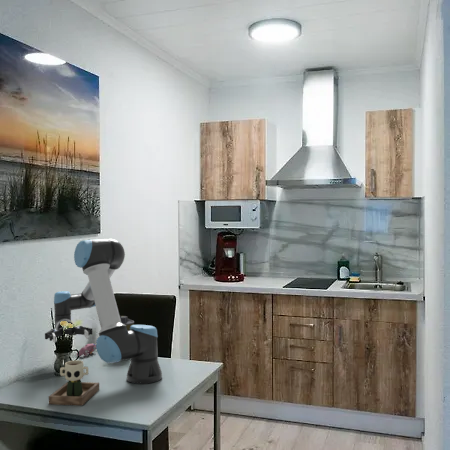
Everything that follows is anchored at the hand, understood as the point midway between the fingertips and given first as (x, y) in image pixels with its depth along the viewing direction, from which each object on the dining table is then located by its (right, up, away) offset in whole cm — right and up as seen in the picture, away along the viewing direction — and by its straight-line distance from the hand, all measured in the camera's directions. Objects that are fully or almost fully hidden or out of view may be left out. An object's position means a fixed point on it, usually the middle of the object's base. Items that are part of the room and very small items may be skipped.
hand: (71, 337), depth 227 cm
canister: (+15, -18, +40) cm, 46 cm away
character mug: (+6, -19, -17) cm, 27 cm away
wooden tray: (+6, -20, -17) cm, 27 cm away
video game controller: (-4, -18, +43) cm, 47 cm away
